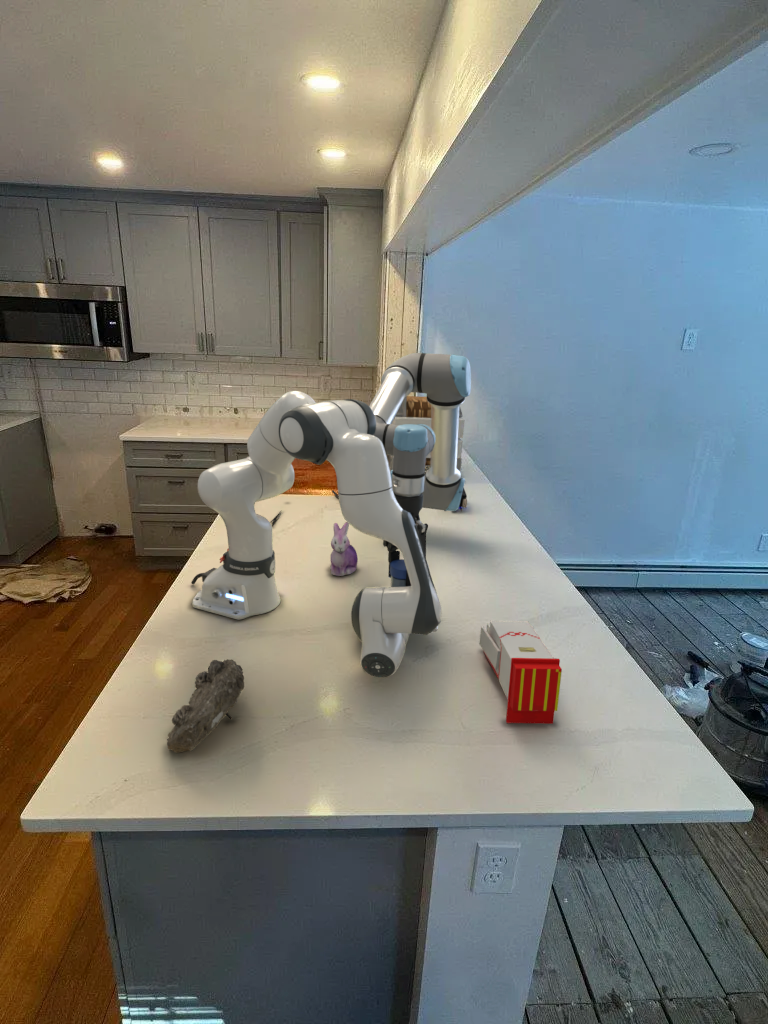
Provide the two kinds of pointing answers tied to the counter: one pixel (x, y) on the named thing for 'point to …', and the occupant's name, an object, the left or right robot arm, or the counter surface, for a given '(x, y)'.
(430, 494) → the right robot arm
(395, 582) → the grey tall cylinder
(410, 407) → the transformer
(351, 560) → the figurine
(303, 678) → the counter surface
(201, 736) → the fossil
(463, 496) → the figurine character
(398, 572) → the lid
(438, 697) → the counter surface
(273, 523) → the feather
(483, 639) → the toy
